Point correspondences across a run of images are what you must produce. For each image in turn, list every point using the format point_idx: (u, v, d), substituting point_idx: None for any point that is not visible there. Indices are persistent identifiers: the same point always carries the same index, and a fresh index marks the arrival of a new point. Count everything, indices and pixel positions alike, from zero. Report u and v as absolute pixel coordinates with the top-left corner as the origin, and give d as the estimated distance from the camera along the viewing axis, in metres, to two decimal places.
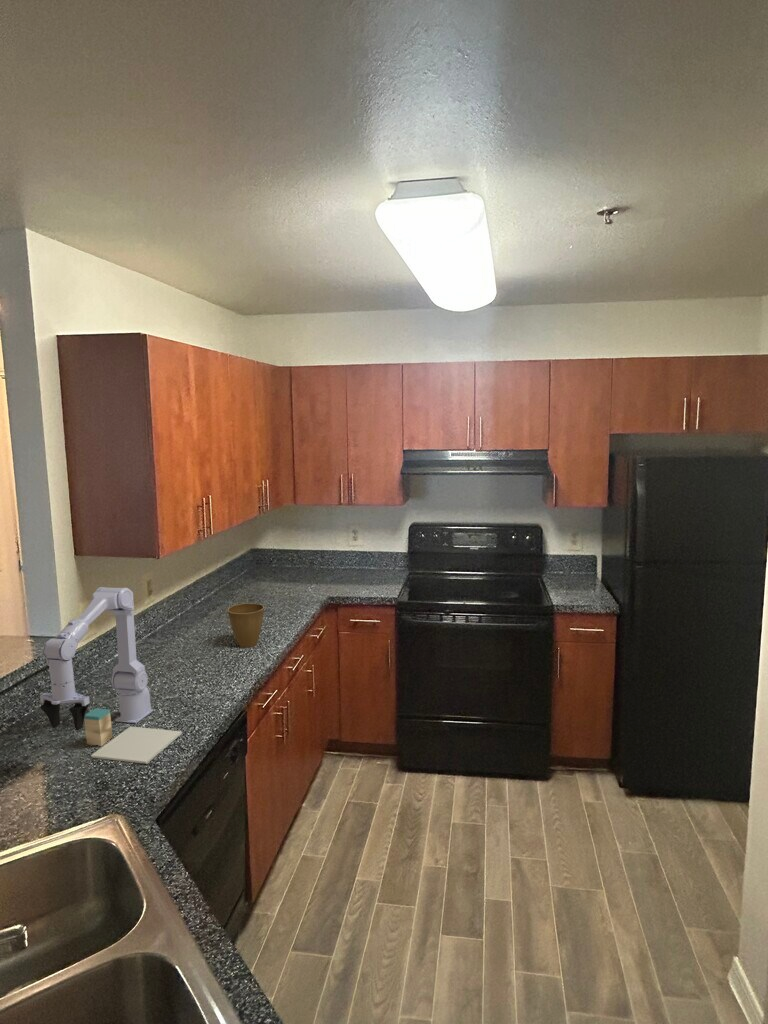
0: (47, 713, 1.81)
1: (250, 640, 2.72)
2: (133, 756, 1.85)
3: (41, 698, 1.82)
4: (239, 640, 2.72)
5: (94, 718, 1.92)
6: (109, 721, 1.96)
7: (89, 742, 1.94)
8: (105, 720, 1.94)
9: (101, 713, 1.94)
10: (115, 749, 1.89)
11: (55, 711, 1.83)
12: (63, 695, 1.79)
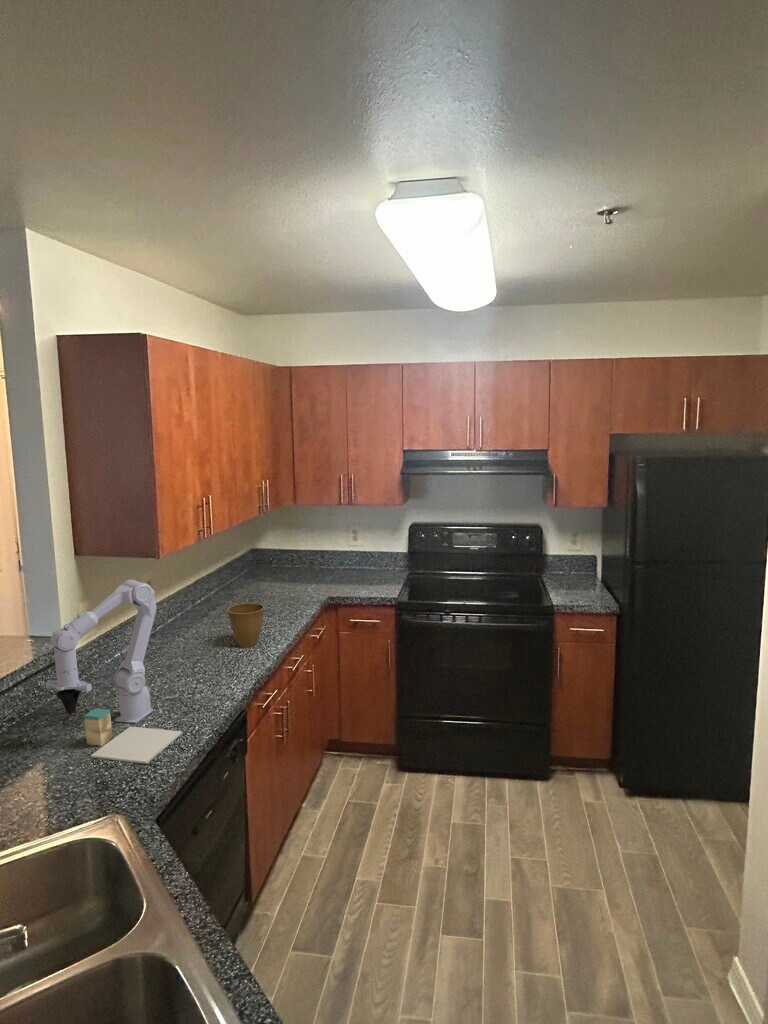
0: (62, 700, 1.95)
1: (250, 640, 2.72)
2: (133, 756, 1.85)
3: (47, 685, 1.96)
4: (239, 640, 2.72)
5: (94, 718, 1.92)
6: (109, 721, 1.96)
7: (89, 742, 1.94)
8: (105, 720, 1.94)
9: (101, 713, 1.94)
10: (115, 749, 1.89)
11: None
12: (67, 682, 1.93)
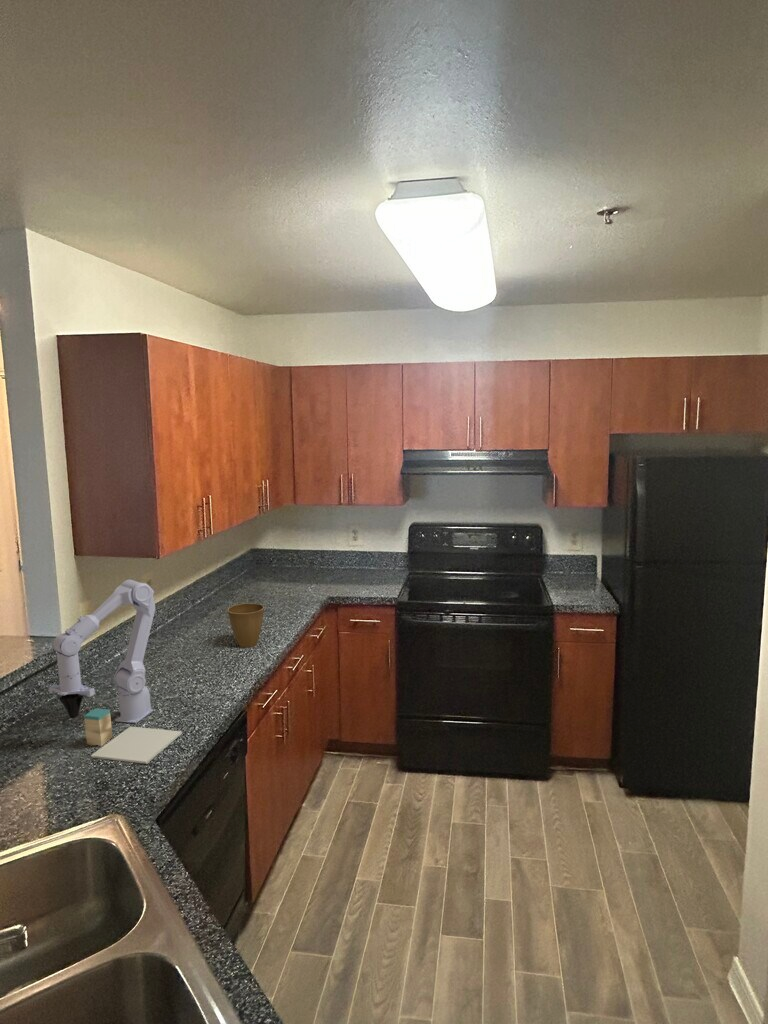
0: (65, 704, 1.95)
1: (250, 640, 2.72)
2: (133, 756, 1.85)
3: (50, 690, 1.96)
4: (239, 640, 2.72)
5: (94, 718, 1.92)
6: (109, 721, 1.96)
7: (89, 742, 1.94)
8: (105, 720, 1.94)
9: (101, 713, 1.94)
10: (115, 749, 1.89)
11: None
12: (70, 687, 1.93)
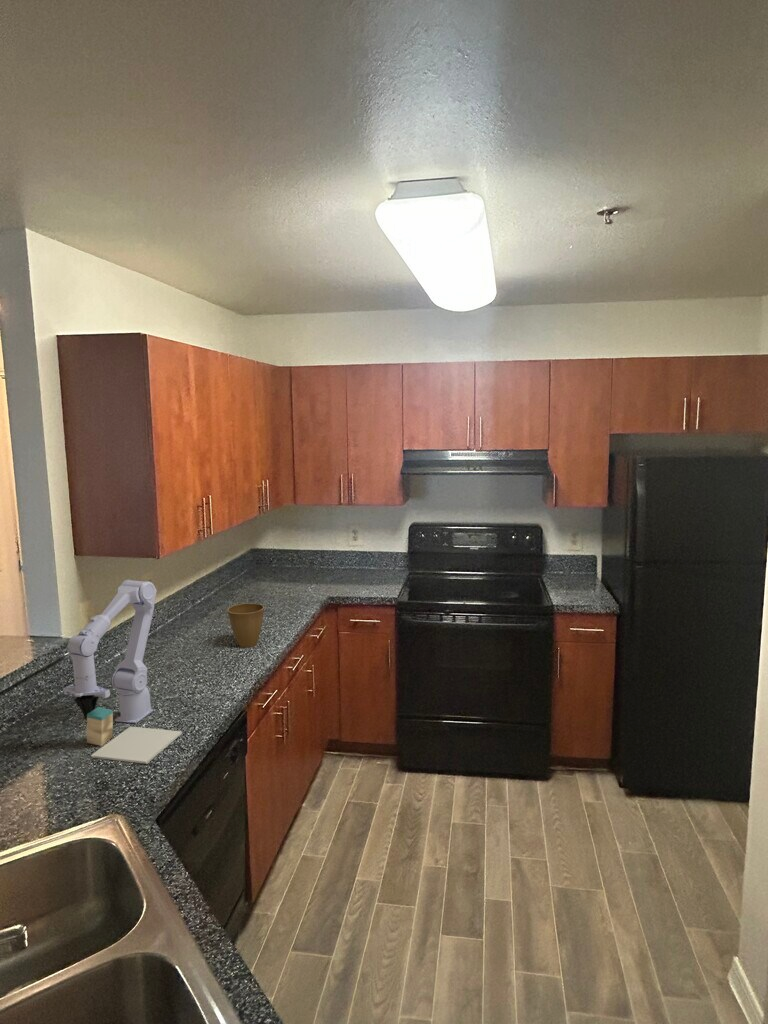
0: (80, 706, 1.93)
1: (250, 640, 2.72)
2: (133, 756, 1.85)
3: (65, 691, 1.95)
4: (239, 640, 2.72)
5: (97, 718, 1.92)
6: (111, 721, 1.96)
7: (89, 740, 1.94)
8: (107, 720, 1.94)
9: (104, 713, 1.93)
10: (115, 749, 1.89)
11: None
12: (85, 688, 1.91)
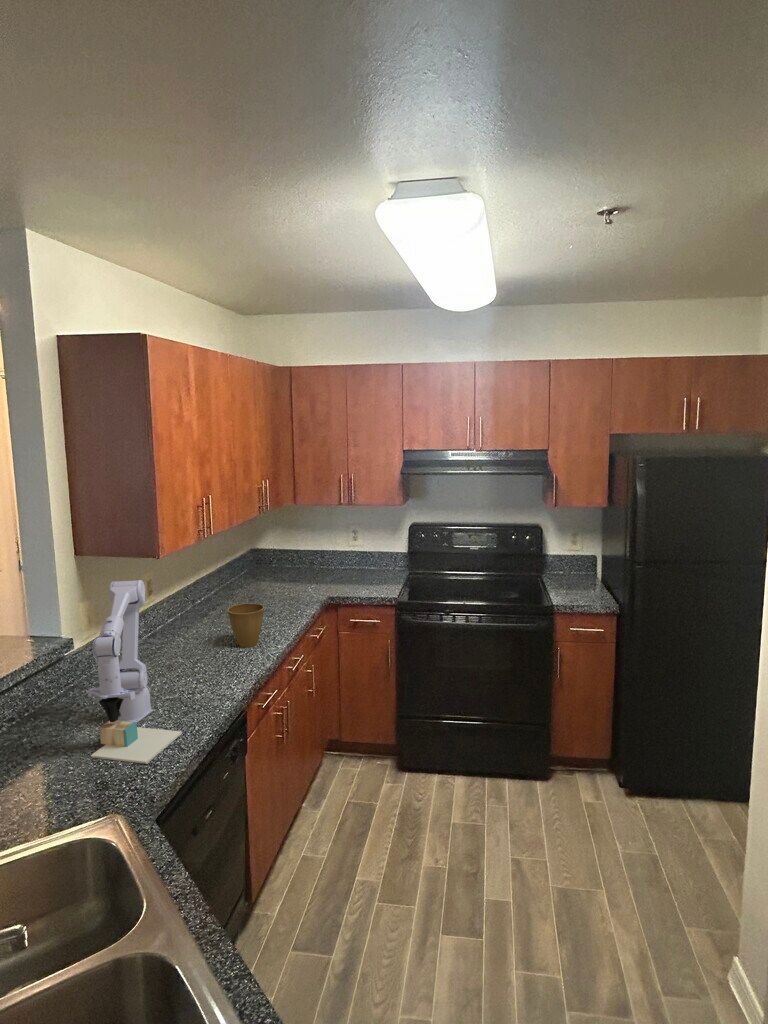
0: (105, 708, 1.91)
1: (250, 640, 2.72)
2: (133, 756, 1.85)
3: (89, 693, 1.93)
4: (239, 640, 2.72)
5: (125, 741, 1.90)
6: None
7: (101, 731, 1.92)
8: None
9: (132, 740, 1.92)
10: (115, 749, 1.89)
11: None
12: (110, 690, 1.89)
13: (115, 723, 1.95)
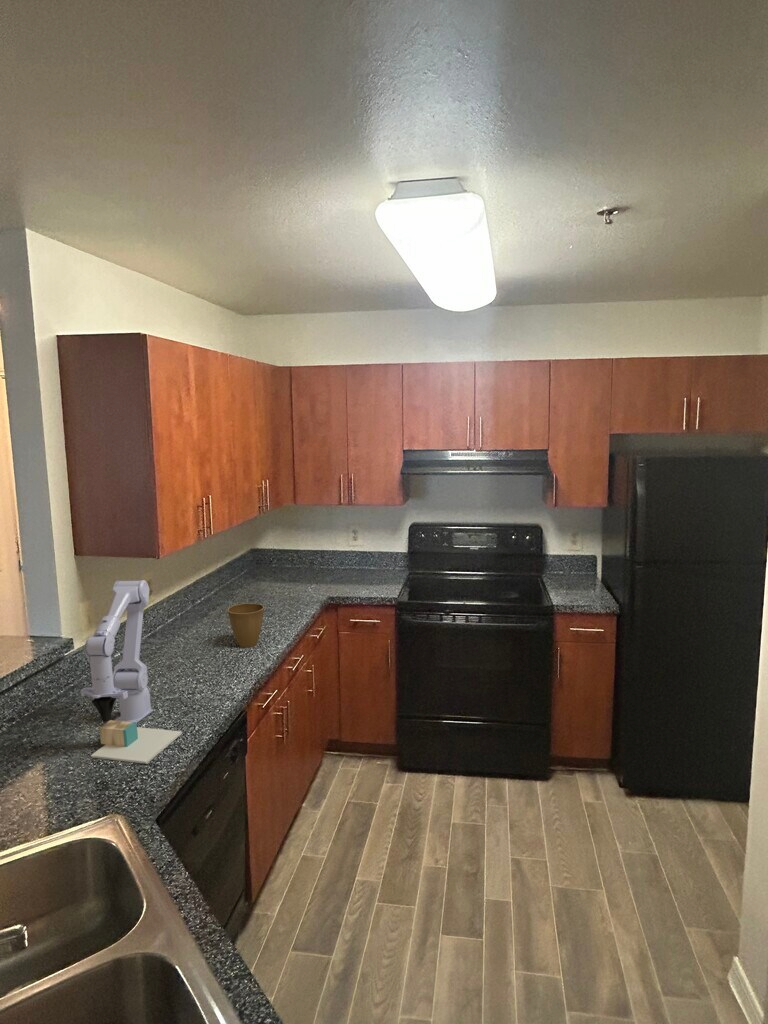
0: (98, 707, 1.92)
1: (250, 640, 2.72)
2: (133, 756, 1.85)
3: (81, 692, 1.93)
4: (239, 640, 2.72)
5: (125, 741, 1.90)
6: None
7: (101, 731, 1.92)
8: None
9: (132, 740, 1.92)
10: (115, 749, 1.89)
11: None
12: (103, 689, 1.90)
13: (115, 723, 1.95)
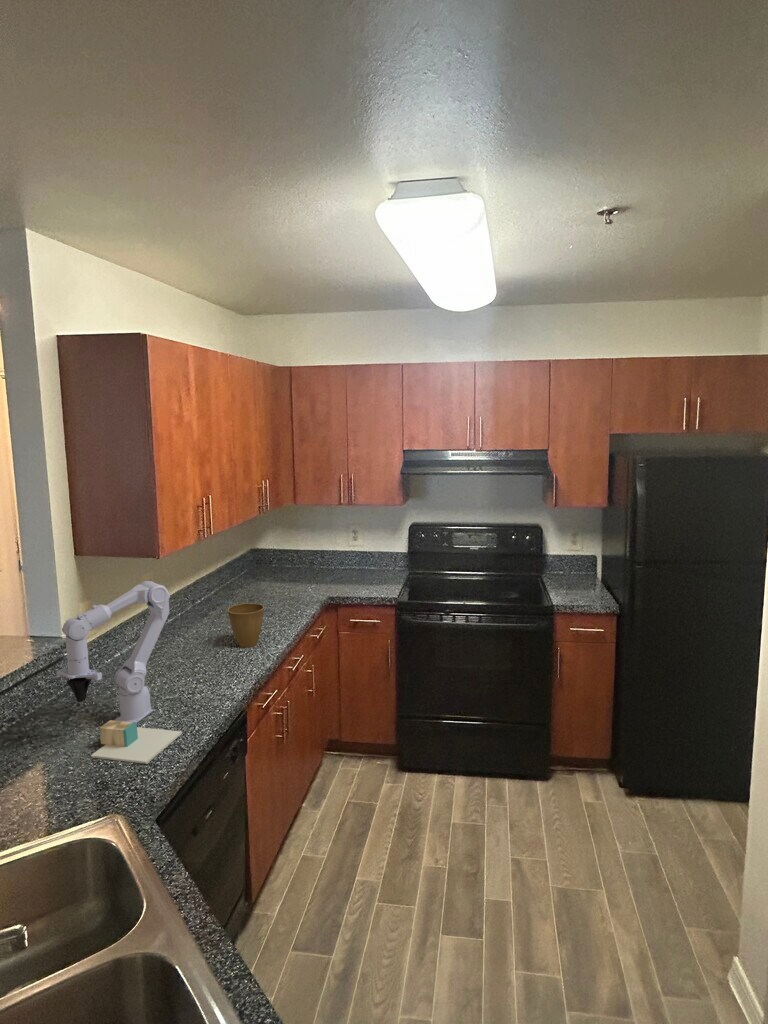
0: (73, 688, 1.98)
1: (250, 640, 2.72)
2: (133, 756, 1.85)
3: (58, 673, 2.00)
4: (239, 640, 2.72)
5: (125, 741, 1.90)
6: None
7: (101, 731, 1.92)
8: None
9: (132, 740, 1.92)
10: (115, 749, 1.89)
11: None
12: (78, 670, 1.96)
13: (115, 723, 1.95)
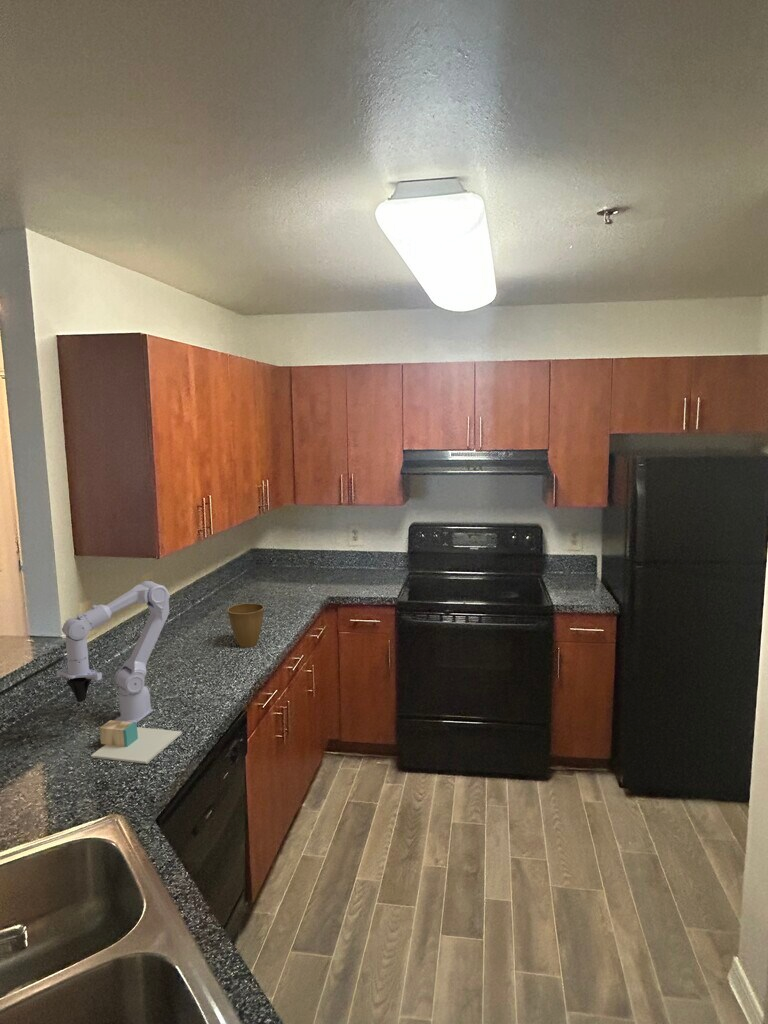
0: (73, 688, 1.98)
1: (250, 640, 2.72)
2: (133, 756, 1.85)
3: (58, 673, 2.00)
4: (239, 640, 2.72)
5: (125, 741, 1.90)
6: None
7: (101, 731, 1.92)
8: None
9: (132, 740, 1.92)
10: (115, 749, 1.89)
11: None
12: (78, 670, 1.96)
13: (115, 723, 1.95)
